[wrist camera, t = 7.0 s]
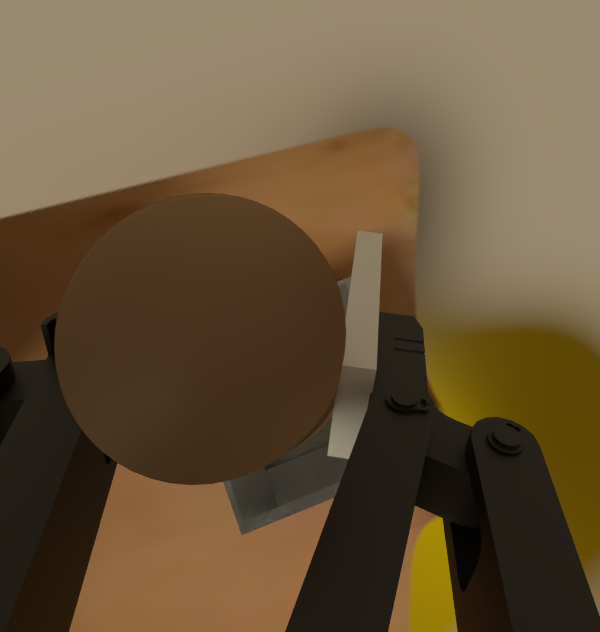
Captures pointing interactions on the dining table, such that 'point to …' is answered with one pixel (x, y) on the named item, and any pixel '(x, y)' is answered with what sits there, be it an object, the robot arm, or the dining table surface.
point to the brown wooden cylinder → (201, 339)
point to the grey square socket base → (289, 476)
